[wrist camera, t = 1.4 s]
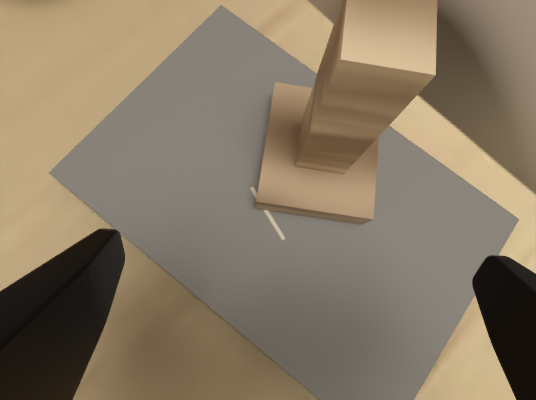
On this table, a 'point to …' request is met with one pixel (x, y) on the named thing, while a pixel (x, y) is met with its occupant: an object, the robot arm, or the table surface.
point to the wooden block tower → (346, 110)
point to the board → (286, 222)
